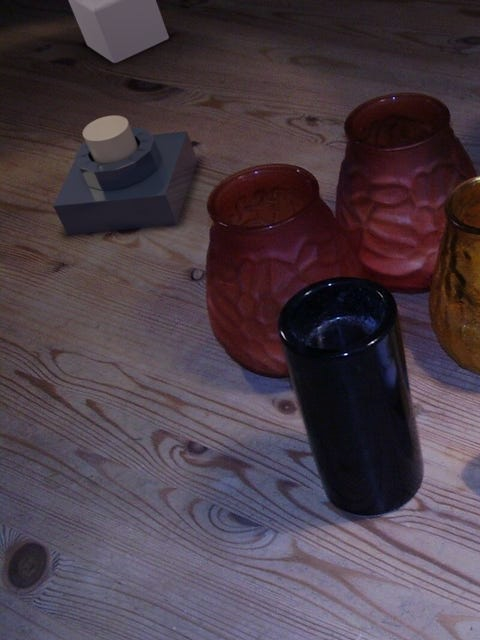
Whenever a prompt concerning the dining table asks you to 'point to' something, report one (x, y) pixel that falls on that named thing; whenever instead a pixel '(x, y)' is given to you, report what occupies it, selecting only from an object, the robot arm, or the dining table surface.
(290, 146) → the dining table surface
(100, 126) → the beige cylinder
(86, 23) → the medicine bottle
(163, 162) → the button housing
